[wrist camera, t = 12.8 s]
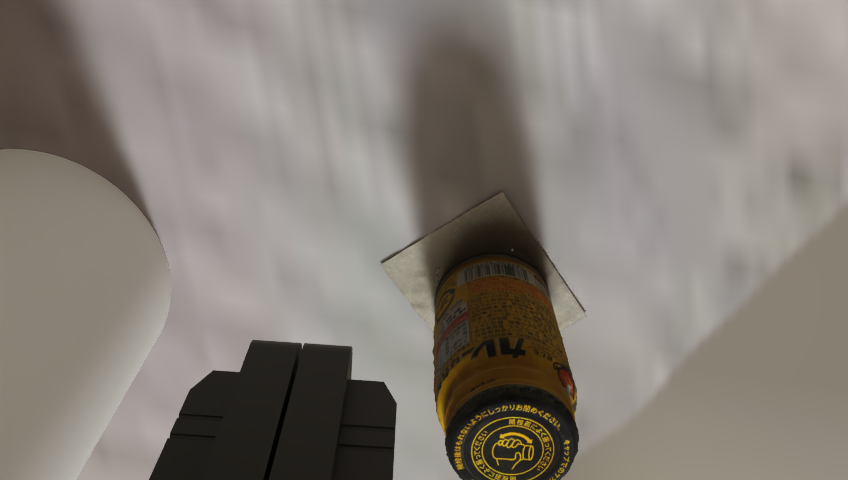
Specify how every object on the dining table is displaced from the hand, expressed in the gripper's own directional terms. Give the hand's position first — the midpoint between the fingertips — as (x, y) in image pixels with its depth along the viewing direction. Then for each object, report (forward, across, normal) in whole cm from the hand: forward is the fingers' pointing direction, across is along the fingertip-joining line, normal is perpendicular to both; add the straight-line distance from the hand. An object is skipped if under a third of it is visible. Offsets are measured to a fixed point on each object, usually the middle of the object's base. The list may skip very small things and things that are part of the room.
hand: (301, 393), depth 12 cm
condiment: (+27, -6, +12) cm, 30 cm away
